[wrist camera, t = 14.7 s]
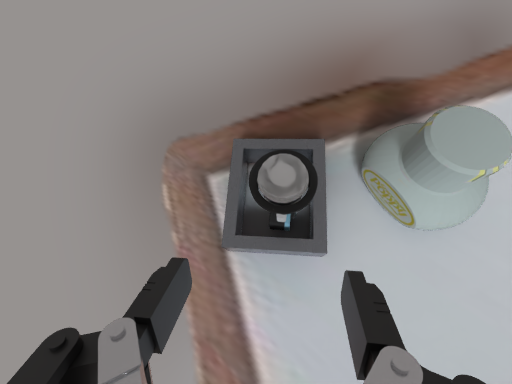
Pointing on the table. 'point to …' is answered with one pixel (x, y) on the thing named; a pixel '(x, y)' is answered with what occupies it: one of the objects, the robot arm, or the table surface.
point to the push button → (283, 185)
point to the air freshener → (437, 166)
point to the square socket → (232, 232)
